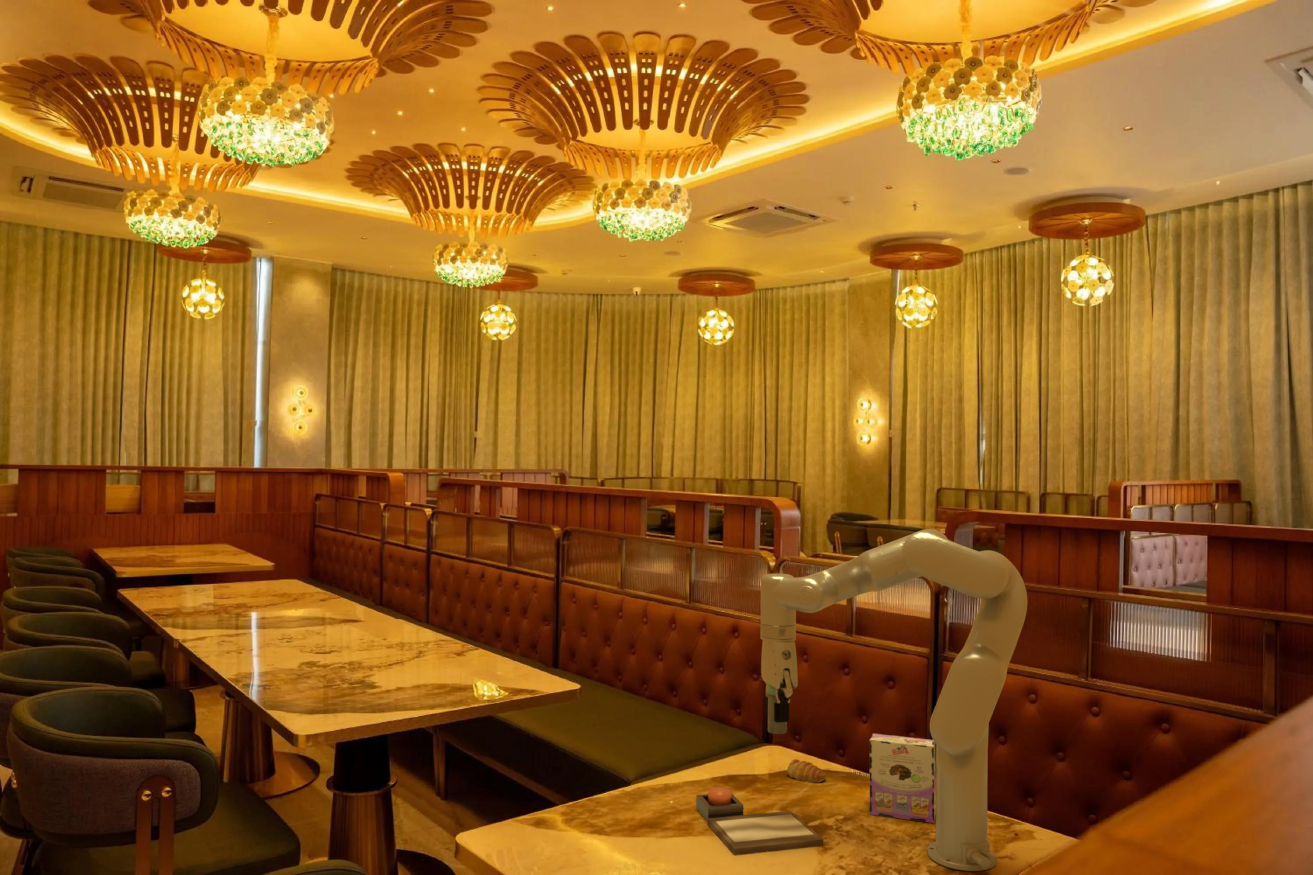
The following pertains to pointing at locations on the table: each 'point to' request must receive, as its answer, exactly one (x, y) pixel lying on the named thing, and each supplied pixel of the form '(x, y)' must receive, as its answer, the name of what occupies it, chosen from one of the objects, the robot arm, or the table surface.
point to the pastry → (805, 771)
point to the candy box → (902, 777)
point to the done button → (719, 796)
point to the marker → (772, 725)
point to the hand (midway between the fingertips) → (777, 717)
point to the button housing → (718, 807)
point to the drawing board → (764, 832)
